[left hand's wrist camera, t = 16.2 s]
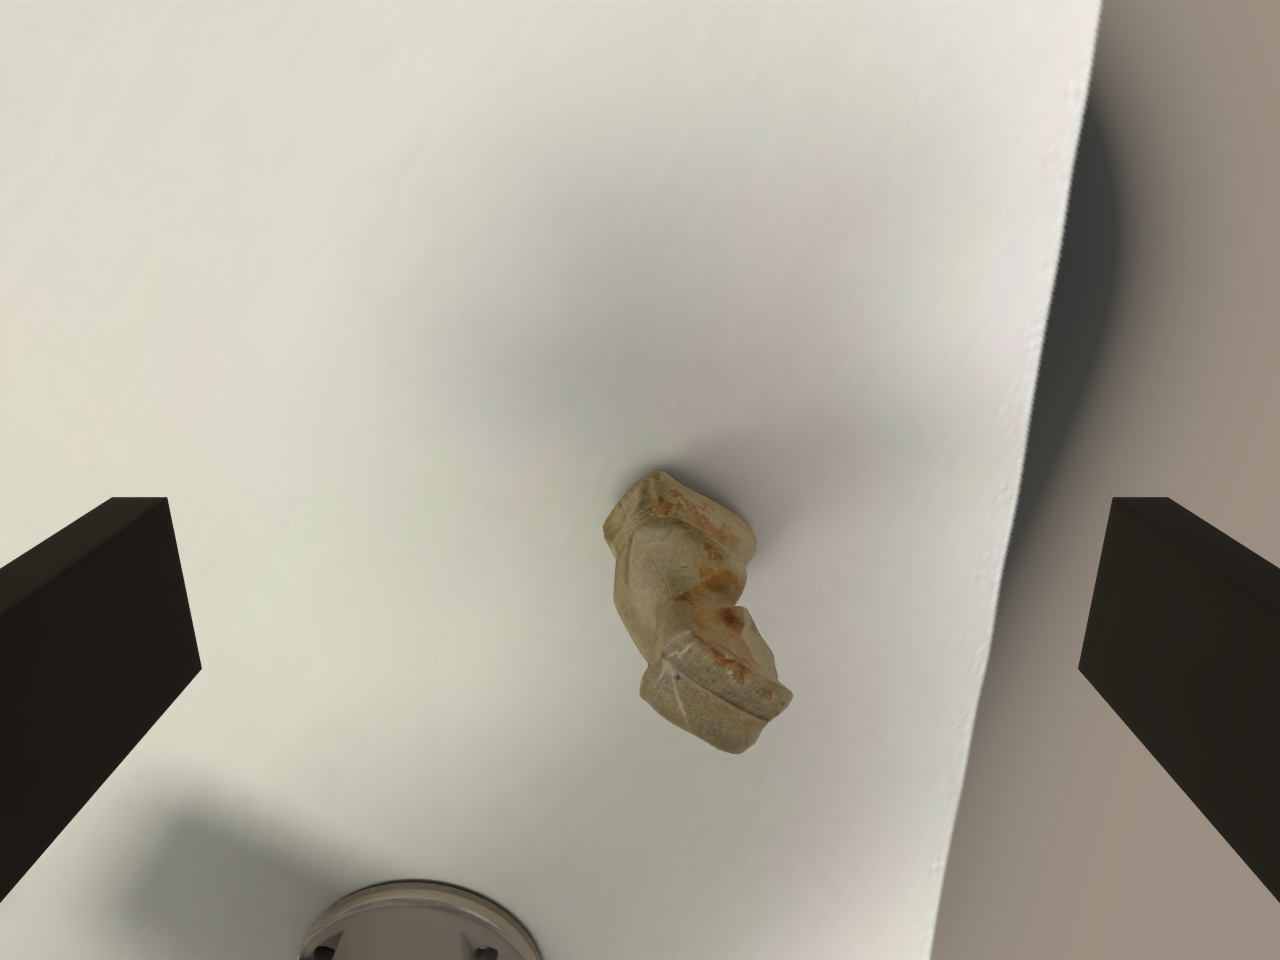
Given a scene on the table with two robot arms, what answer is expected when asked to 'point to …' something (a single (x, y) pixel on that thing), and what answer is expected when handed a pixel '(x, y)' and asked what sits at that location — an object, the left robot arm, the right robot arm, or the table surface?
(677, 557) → the sculpture
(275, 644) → the table surface
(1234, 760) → the left robot arm
